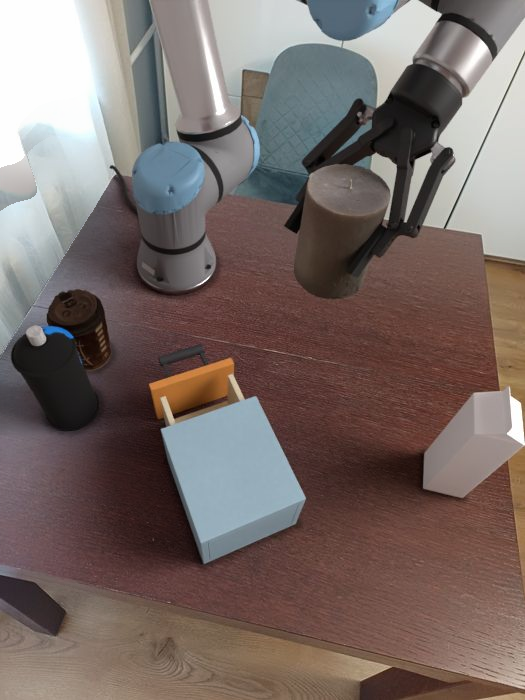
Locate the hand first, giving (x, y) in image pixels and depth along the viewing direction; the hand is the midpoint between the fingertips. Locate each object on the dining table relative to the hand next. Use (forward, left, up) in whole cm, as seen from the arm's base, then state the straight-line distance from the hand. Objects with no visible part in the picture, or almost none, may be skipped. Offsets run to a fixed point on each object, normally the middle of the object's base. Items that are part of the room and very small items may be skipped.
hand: (320, 251), depth 61 cm
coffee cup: (-16, -30, -29) cm, 45 cm away
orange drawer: (+3, -17, -28) cm, 33 cm away
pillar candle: (-1, +3, -6) cm, 7 cm away
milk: (+25, +14, -29) cm, 40 cm away
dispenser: (+15, -17, -29) cm, 37 cm away
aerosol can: (-7, -35, -29) cm, 46 cm away
